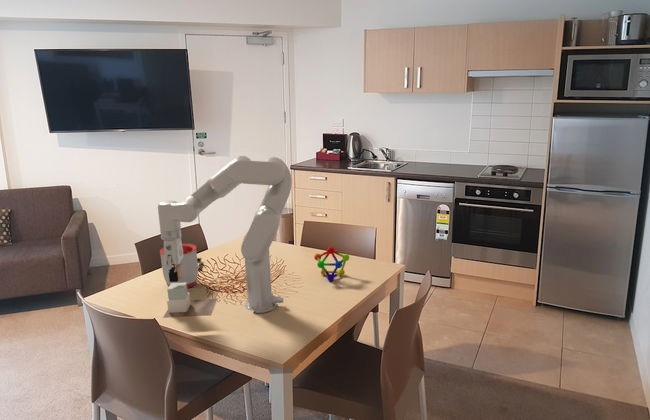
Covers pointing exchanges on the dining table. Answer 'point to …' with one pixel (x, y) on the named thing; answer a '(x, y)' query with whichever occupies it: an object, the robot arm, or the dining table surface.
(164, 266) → the citrus juicer
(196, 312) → the serving board
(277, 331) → the dining table surface
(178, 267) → the pink domed cylinder
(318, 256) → the educational toy
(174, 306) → the cream block
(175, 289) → the sage block
